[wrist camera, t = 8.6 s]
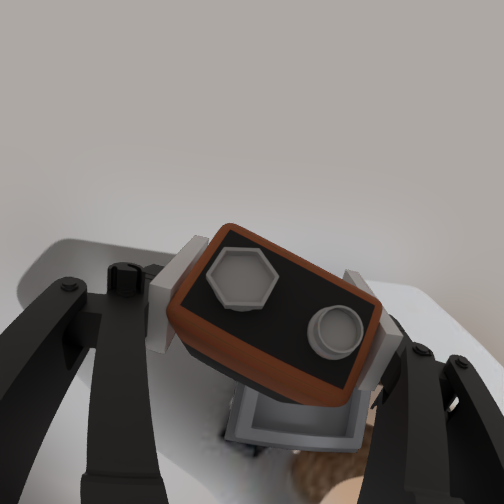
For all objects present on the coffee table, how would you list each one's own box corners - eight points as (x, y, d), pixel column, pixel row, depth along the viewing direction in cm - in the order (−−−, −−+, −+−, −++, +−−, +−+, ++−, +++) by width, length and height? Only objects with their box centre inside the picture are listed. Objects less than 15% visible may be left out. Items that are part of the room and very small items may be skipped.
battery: (221, 294, 19) (227, 198, 10) (315, 344, 18) (402, 291, 9) (185, 352, 17) (151, 305, 8) (285, 405, 16) (360, 414, 7)
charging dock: (353, 451, 27) (365, 455, 24) (224, 437, 26) (225, 443, 24) (370, 332, 34) (383, 327, 31) (253, 307, 33) (257, 300, 31)
